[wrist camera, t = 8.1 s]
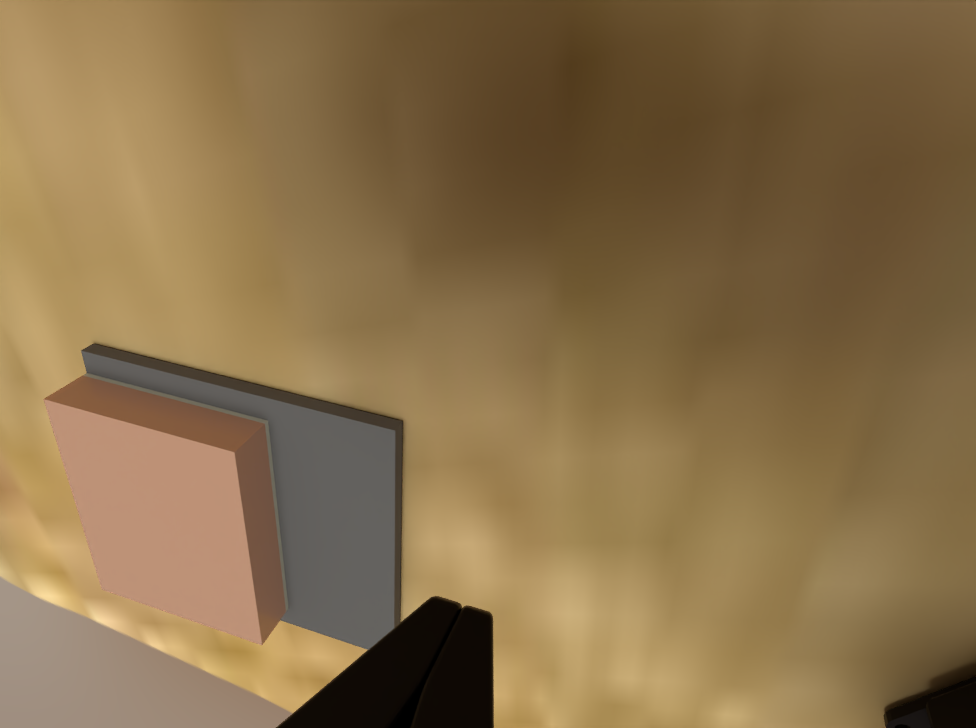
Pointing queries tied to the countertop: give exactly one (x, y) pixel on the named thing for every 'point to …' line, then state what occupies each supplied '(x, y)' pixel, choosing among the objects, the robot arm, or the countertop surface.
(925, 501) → the countertop surface
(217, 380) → the mat
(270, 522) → the tile
